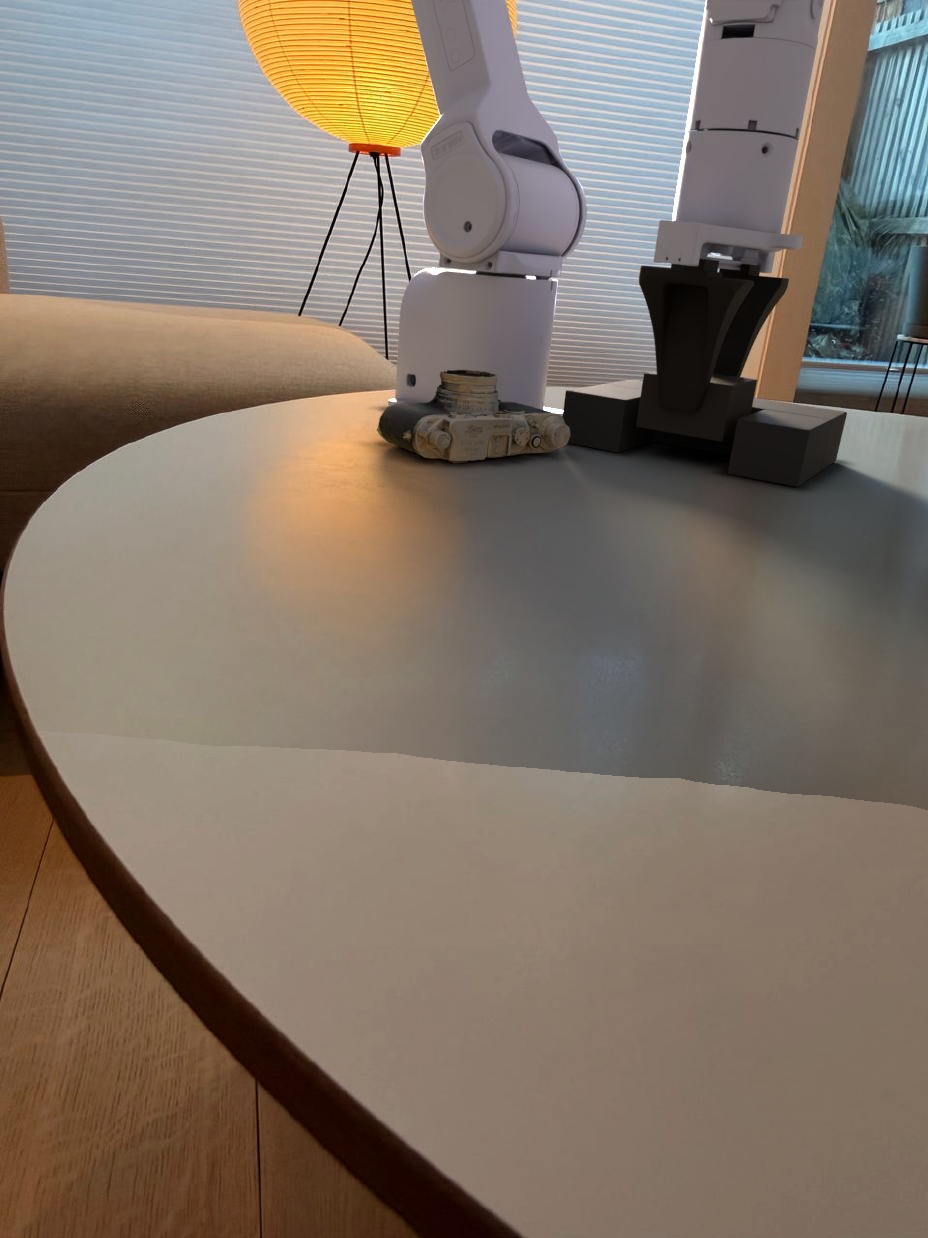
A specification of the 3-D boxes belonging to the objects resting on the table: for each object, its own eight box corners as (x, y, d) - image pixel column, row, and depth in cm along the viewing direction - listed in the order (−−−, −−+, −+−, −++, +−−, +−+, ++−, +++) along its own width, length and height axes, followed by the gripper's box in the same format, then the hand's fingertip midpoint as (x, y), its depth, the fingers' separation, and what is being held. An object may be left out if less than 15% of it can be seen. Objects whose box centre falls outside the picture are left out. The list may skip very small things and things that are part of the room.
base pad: (559, 441, 55) (565, 390, 54) (624, 423, 64) (630, 378, 62) (797, 487, 49) (810, 430, 48) (836, 461, 57) (847, 411, 56)
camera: (578, 456, 52) (588, 378, 50) (418, 466, 46) (424, 380, 45) (524, 436, 56) (531, 364, 54) (370, 444, 50) (373, 364, 48)
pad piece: (635, 426, 53) (643, 372, 52) (666, 418, 57) (674, 367, 56) (721, 442, 50) (732, 385, 49) (747, 431, 54) (757, 379, 53)
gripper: (784, 116, 40) (725, 430, 45) (848, 158, 52) (796, 404, 57) (632, 115, 44) (593, 407, 49) (725, 154, 55) (686, 387, 60)
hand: (695, 404), depth 53 cm, fingers closed on pad piece, 5 cm apart
